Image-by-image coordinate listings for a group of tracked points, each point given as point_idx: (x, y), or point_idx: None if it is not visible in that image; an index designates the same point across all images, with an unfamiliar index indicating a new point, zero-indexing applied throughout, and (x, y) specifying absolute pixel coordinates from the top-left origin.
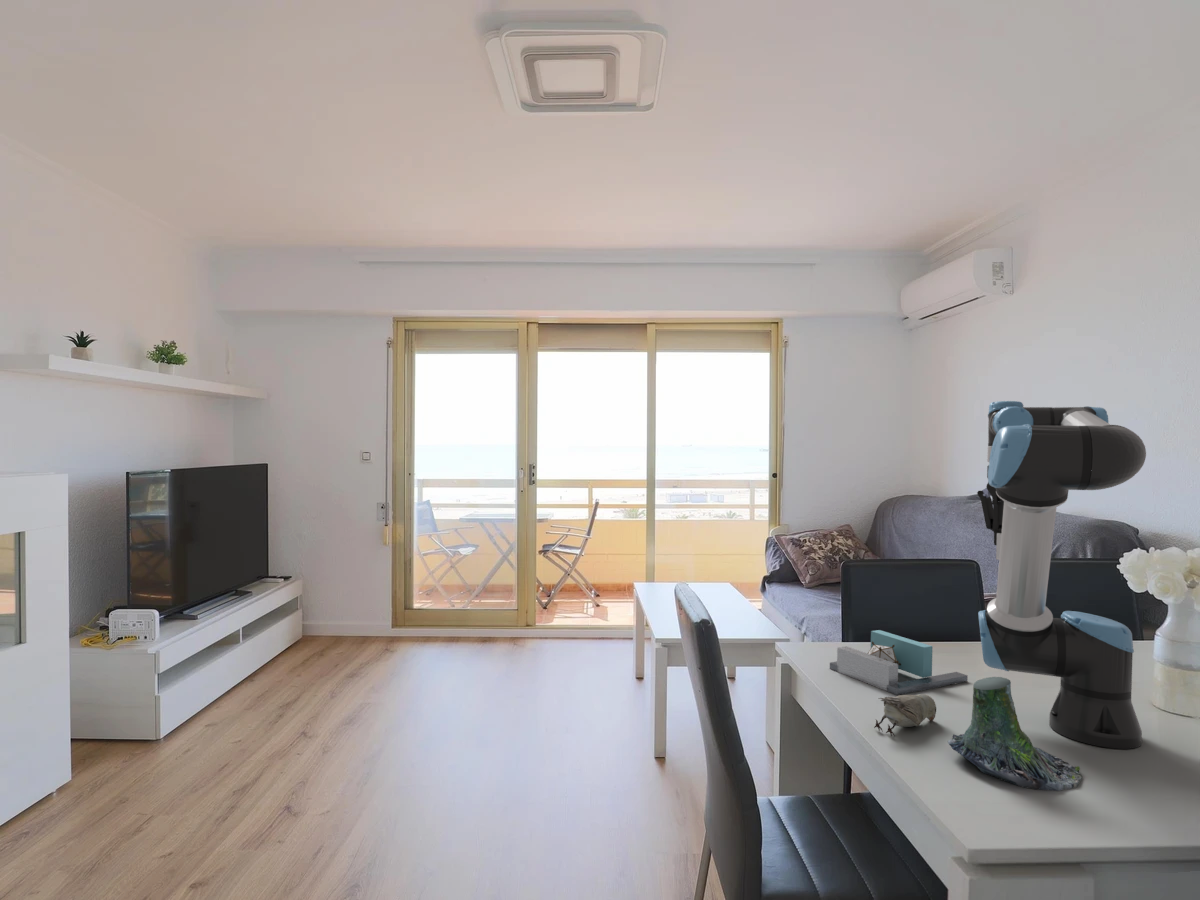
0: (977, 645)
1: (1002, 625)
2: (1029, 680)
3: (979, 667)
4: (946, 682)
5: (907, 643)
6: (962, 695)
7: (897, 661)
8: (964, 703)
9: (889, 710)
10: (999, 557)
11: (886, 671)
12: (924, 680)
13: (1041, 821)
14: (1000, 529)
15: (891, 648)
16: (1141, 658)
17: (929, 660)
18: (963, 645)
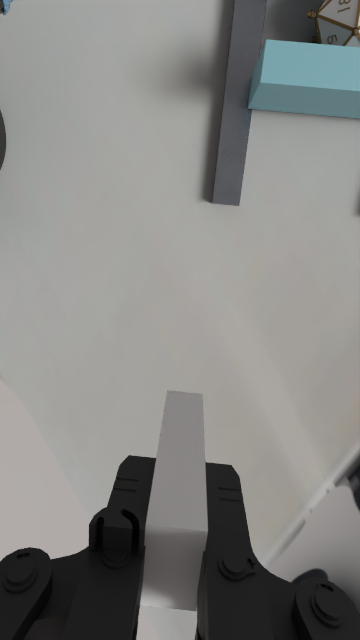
0: (327, 452)
1: None
2: (156, 323)
3: (249, 317)
4: (220, 129)
5: (322, 45)
6: (167, 102)
7: (310, 11)
8: (136, 53)
9: None
10: (182, 399)
11: None
12: (243, 66)
13: None
14: (202, 611)
15: (353, 23)
16: None
17: (255, 84)
18: (344, 430)
